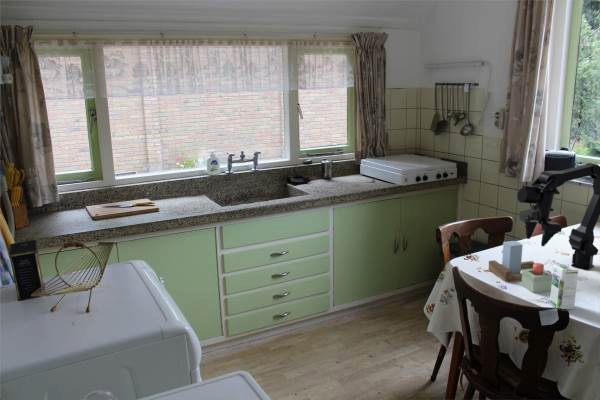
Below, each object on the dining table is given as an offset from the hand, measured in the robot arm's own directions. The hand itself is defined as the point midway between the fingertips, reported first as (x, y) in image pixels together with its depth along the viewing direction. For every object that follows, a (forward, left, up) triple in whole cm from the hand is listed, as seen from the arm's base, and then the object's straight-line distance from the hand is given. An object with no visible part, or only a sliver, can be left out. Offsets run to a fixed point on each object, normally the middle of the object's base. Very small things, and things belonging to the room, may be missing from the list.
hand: (535, 242), depth 202 cm
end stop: (+7, +13, -12) cm, 19 cm away
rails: (+2, +4, -12) cm, 13 cm away
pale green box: (-8, +14, -12) cm, 20 cm away
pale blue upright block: (+5, +8, -12) cm, 16 cm away
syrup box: (-21, +23, -13) cm, 34 cm away
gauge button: (-8, +14, -6) cm, 17 cm away
